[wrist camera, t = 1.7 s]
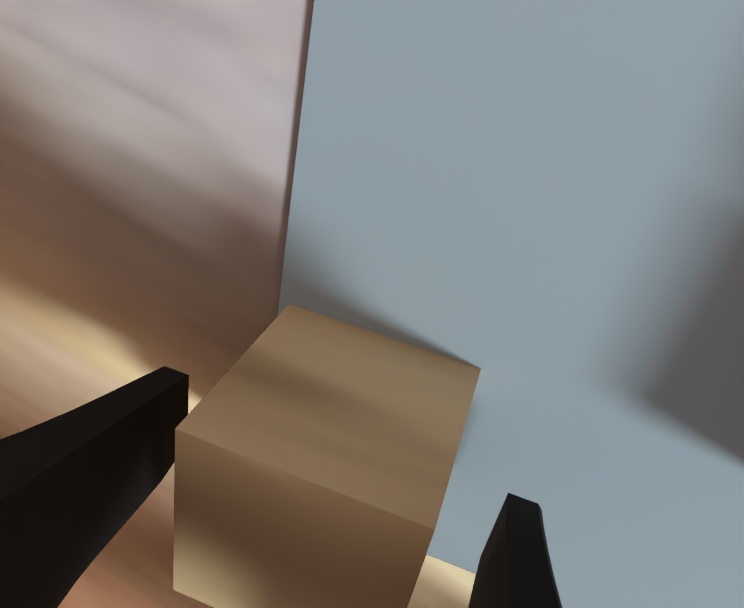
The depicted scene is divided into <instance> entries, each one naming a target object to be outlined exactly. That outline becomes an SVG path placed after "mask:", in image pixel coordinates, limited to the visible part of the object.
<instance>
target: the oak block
mask: <svg viewBox="0 0 744 608" xmlns="http://www.w3.org/2000/svg"><path fill="white" fill-rule="evenodd" d="M480 371H481V368H478V367H475V366H472V365H469V364H466V363H463V362H460V361H457V360H454V359H451V358H448V357H445V356H442V355H439V354H436V353H433V352H430V351H427V350H424V349H421V348H418V347H415V346H412V345H410V344H407V343H404V342H401V341H398V340H395V339H392V338H389V337H386V336H383V335H380V334H377V333H374V332H371V331H368V330H365V329H362V328H359V327H356V326H353V325H350V324H347V323H344V322H341V321H338V320H335V319H332V318H329V317H326V316H324V315H321V314H318V313H315V312H312V311H309V310H306V309H303V308H300V307H297V306H294V305H291V304H288V306H287V307H286V308H285V309H284V310H283V311H282V312H281V313H280V314H279V315H278V317H277V318H276V319H275V320H274V321H273V322H272V323H271V324H270V325H269V326H268V328H267V329H266V330H265V331H264V332H263V333H262V334H261V335H260V336H259V337H258V339H257V340H256V341H255V342H254V343H253V344H252V345H251V346H250V347H249V348H248V349H247V351H246V352H245V353H244V354H243V355H242V356H241V357H240V358H239V359H238V360H237V362H236V363H235V364H234V365H233V366H232V367H231V368H230V369H229V370H228V371H227V373H226V374H225V375H224V376H223V377H222V378H221V379H220V380H219V381H218V382H217V383H216V385H215V386H214V387H213V388H212V389H211V390H210V391H209V392H208V393H207V394H206V396H205V397H204V398H203V399H202V400H201V401H200V402H199V403H198V404H197V405H196V407H195V408H194V409H193V410H192V411H191V412H190V413H189V414H188V415H187V416H186V418H185V419H184V420H183V421H182V422H181V423H180V424H179V425H178V426H177V427H176V428H175V481H174V558H173V590H175V591H177V592H180V593H182V594H184V595H186V596H189V597H191V598H193V599H196V600H198V601H200V602H202V603H205V604H207V605H209V606H211V607H214V608H407V606H408V603H409V601H410V598H411V595H412V592H413V589H414V587H415V584H416V581H417V578H418V576H419V573H420V570H421V567H422V565H423V562H424V559H425V556H426V553H427V551H428V548H429V545H430V542H431V540H432V537H433V534H434V531H435V528H436V525H437V521H438V518H439V514H440V511H441V507H442V504H443V500H444V497H445V493H446V490H447V486H448V483H449V479H450V476H451V472H452V469H453V465H454V462H455V458H456V455H457V451H458V448H459V444H460V441H461V437H462V434H463V430H464V427H465V423H466V420H467V416H468V413H469V409H470V406H471V402H472V399H473V395H474V392H475V388H476V385H477V381H478V378H479V374H480Z"/></svg>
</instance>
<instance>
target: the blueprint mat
mask: <svg viewBox="0 0 744 608" xmlns="http://www.w3.org/2000/svg"><path fill="white" fill-rule="evenodd" d="M288 304H291V305H294V306H297V307H300V308H303V309H306V310H309V311H312V312H315V313H318V314H321V315H324V316H326V317H329V318H332V319H335V320H338V321H341V322H344V323H347V324H350V325H353V326H356V327H359V328H362V329H365V330H368V331H371V332H374V333H377V334H380V335H383V336H386V337H389V338H392V339H395V340H398V341H401V342H404V343H407V344H410V345H412V346H415V347H418V348H421V349H424V350H427V351H430V352H433V353H436V354H439V355H442V356H445V357H448V358H451V359H454V360H457V361H460V362H463V363H466V364H469V365H472V366H475V367H478V368H481V371H480V374H479V378H478V381H477V385H476V388H475V392H474V395H473V399H472V402H471V406H470V409H469V413H468V416H467V420H466V423H465V427H464V430H463V434H462V437H461V441H460V444H459V448H458V451H457V455H456V458H455V462H454V465H453V469H452V472H451V476H450V479H449V483H448V486H447V490H446V493H445V497H444V500H443V504H442V507H441V511H440V514H439V518H438V521H437V525H436V528H435V531H434V534H433V537H432V540H431V542H430V545H429V548H428V551H427V553H426V554H427V555H429V556H432V557H435V558H437V559H440V560H442V561H445V562H447V563H450V564H452V565H455V566H457V567H460V568H462V569H465V570H467V571H470V572H472V573H475V574H476V573H477V569H478V564H479V560H480V556H481V554H482V551H483V549H484V547H485V545H486V542H487V540H488V538H489V535H490V533H491V531H492V529H493V526H494V524H495V522H496V519H497V517H498V515H499V513H500V510H501V508H502V506H503V503H504V501H505V499H506V497H507V494H508V493H511V494H513V495H516V496H519V497H522V498H524V499H527V500H530V501H532V502H535V503H538V504H539V506H540V508H541V509H542V516H543V523H544V530H545V535H546V541H547V546H548V551H549V556H550V560H551V565H552V569H553V574H554V578H555V582H556V586H557V589H558V593H559V597H560V600H561V604H562V608H744V0H314V6H313V15H312V23H311V32H310V40H309V49H308V57H307V66H306V74H305V83H304V92H303V100H302V109H301V117H300V126H299V134H298V143H297V151H296V160H295V168H294V177H293V185H292V194H291V202H290V211H289V220H288V228H287V237H286V245H285V254H284V262H283V271H282V279H281V288H280V296H279V305H278V313H277V317H278V315H279V314H280V313H281V312H282V311H283V310H284V309H285V308H286V307H287V306H288Z"/></svg>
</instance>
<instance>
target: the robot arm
mask: <svg viewBox="0 0 744 608" xmlns="http://www.w3.org/2000/svg"><path fill="white" fill-rule="evenodd" d="M188 388H189V375H187V374H185V373H182V372H179V371H176V370H174V369H171V368H168V367H165V366H164V367H162V368H160V369H157V370H155V371H153V372H151V373H149V374H147V375H145V376H143V377H141V378H139V379H137V380H135V381H132V382H130V383H128V384H126V385H124V386H122V387H120V388H118V389H116V390H114V391H112V392H110V393H108V394H106V395H104V396H101V397H99V398H97V399H95V400H93V401H91V402H89V403H86V404H84V405H82V406H80V407H78V408H76V409H74V410H71V411H69V412H67V413H64V414H62V415H60V416H57V417H55V418H53V419H50V420H48V421H45V422H43V423H41V424H38V425H36V426H34V427H31V428H29V429H26V430H24V431H22V432H19V433H16V434H14V435H11V436H8V437H6V438H3V439H0V608H57V607H58V606H59V605H60V603H61V602H62V600H63V599H64V598H65V596H66V595H67V593H68V592H69V591H70V589H71V588H72V586H73V585H74V584H75V582H76V581H77V580H78V578H79V577H80V576H81V575H82V573H83V572H84V571H85V570H86V568H87V567H88V566H89V565H90V563H91V562H92V561H93V560H94V559H95V557H96V556H97V555H98V554H99V553H100V552H101V550H102V549H103V548H104V547H105V546H106V545H107V544H108V542H109V541H110V540H111V539H112V538H113V537H114V535H115V534H116V533H117V532H118V531H119V530H120V529H121V527H122V526H123V525H124V524H125V523H126V522H127V520H128V519H129V518H130V517H131V516H132V515H133V514H134V512H135V511H136V510H137V509H138V508H139V507H140V505H141V504H142V503H143V502H144V501H145V500H146V498H147V497H148V496H149V495H150V494H151V493H152V491H153V490H154V489H155V488H156V487H157V485H158V484H159V483H160V482H161V481H162V479H163V478H164V476H165V475H166V473H167V472H168V470H169V469H170V468H171V466H172V465H173V463H174V462H175V428H176V427H177V426H178V425H179V424H180V423H181V422H182V421H183V420H184V419H185V418H186V416H187V415H188ZM469 608H562V604H561V600H560V597H559V593H558V589H557V586H556V582H555V578H554V574H553V569H552V565H551V560H550V556H549V551H548V546H547V541H546V535H545V530H544V523H543V516H542V509H541V508H540V506H539V504H538V503H535V502H532V501H530V500H527V499H524V498H522V497H519V496H516V495H513V494H511V493H508V494H507V497H506V499H505V501H504V503H503V506H502V508H501V510H500V513H499V515H498V517H497V519H496V522H495V524H494V526H493V529H492V531H491V533H490V535H489V538H488V540H487V542H486V545H485V547H484V549H483V551H482V554H481V556H480V560H479V564H478V569H477V573H476V577H475V581H474V585H473V590H472V594H471V598H470V603H469Z"/></svg>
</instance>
